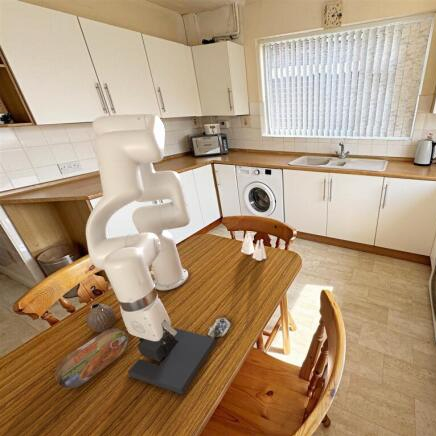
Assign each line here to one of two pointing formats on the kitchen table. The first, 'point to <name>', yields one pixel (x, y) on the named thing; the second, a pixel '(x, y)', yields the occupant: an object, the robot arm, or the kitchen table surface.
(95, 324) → the vase
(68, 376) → the tin
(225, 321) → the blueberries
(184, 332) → the charcoal pad
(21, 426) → the kitchen table surface
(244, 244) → the shaker set
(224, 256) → the kitchen table surface
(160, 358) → the dark grey squat block
